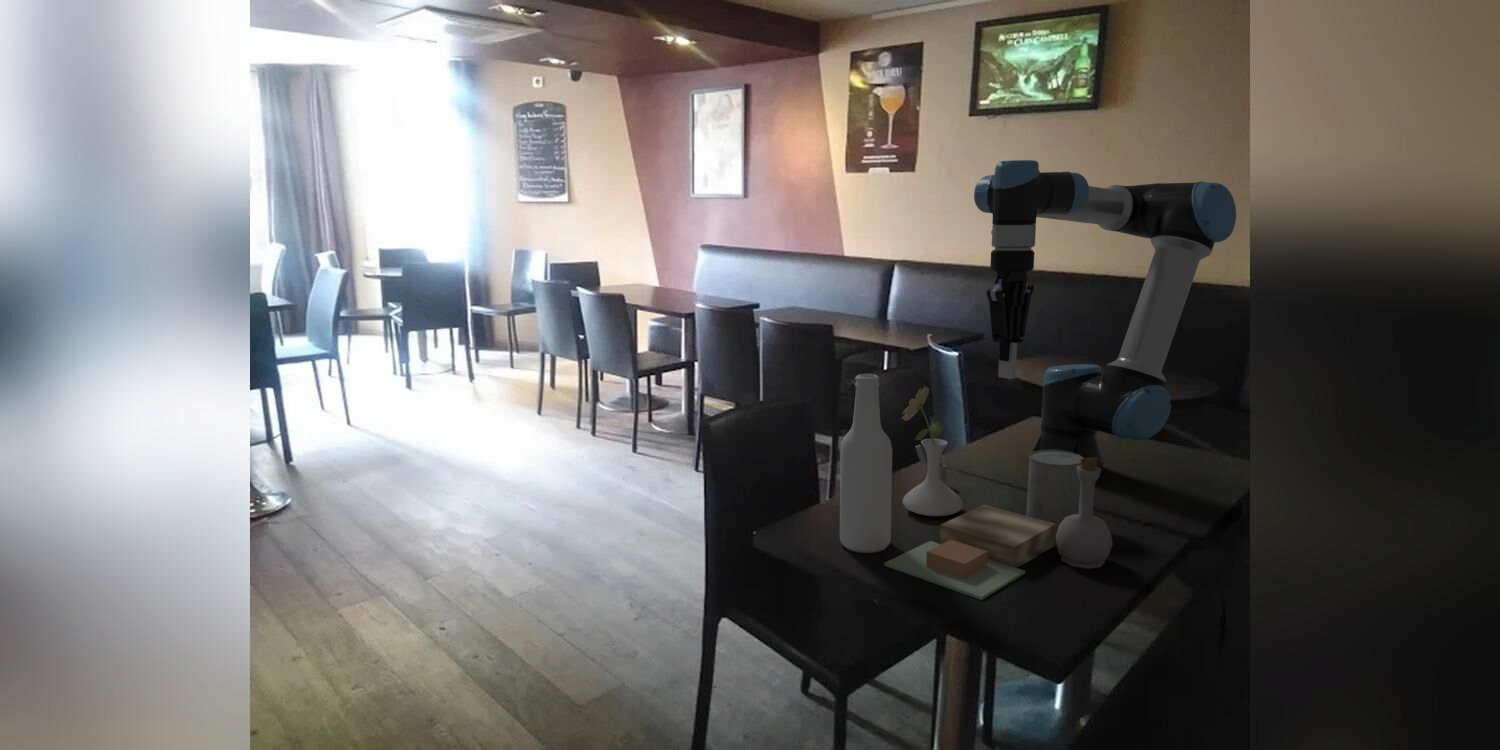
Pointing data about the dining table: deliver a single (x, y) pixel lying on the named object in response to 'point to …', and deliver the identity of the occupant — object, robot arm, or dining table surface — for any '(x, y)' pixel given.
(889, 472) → the alcohol
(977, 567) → the terracotta tile
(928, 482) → the flower in vase
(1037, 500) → the white cylinder
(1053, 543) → the birch board
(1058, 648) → the dining table surface
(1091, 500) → the potion bottle
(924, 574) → the rubber mat
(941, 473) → the lighter
